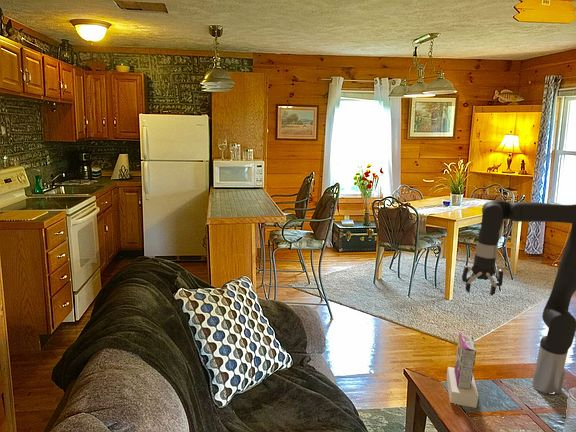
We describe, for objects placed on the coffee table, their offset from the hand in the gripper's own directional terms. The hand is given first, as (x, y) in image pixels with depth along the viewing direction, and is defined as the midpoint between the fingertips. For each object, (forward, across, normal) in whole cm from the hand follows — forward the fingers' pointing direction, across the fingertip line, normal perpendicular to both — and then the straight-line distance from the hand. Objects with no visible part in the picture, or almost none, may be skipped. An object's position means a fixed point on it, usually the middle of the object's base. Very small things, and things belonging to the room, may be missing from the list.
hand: (479, 293), depth 182 cm
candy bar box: (+29, -5, -16) cm, 34 cm away
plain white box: (+34, -4, -16) cm, 38 cm away
